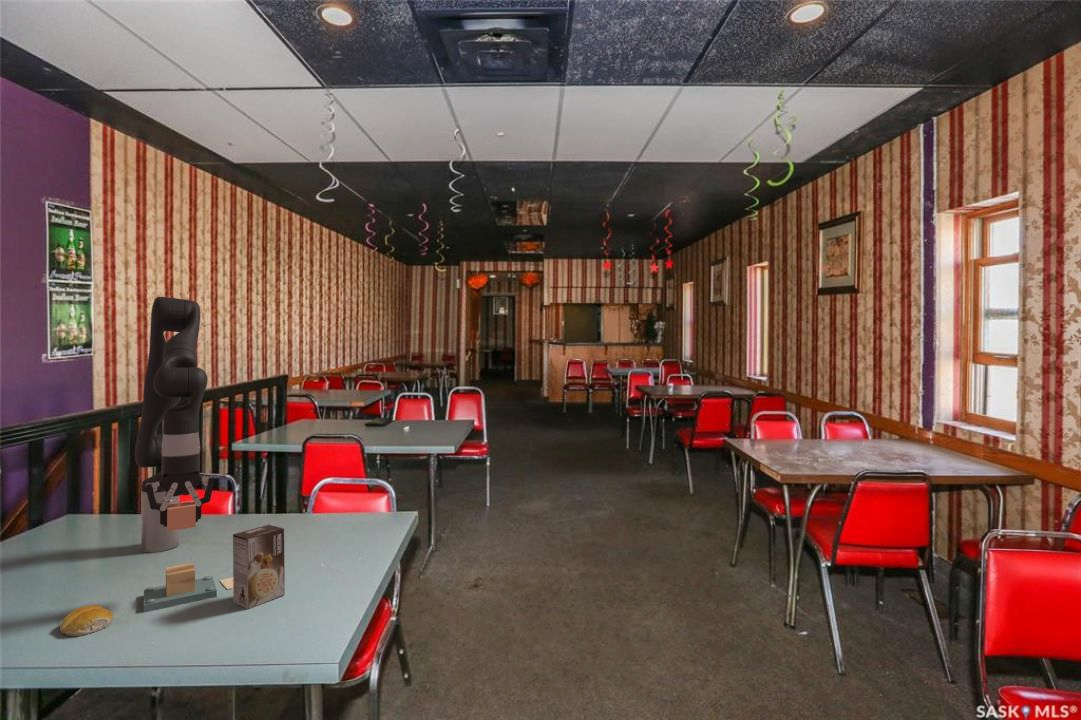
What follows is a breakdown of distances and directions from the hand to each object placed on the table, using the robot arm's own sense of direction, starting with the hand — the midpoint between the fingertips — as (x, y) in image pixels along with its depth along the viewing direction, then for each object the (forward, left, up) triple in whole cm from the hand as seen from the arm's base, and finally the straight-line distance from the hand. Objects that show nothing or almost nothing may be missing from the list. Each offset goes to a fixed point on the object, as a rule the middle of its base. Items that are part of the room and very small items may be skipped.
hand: (180, 523), depth 131 cm
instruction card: (-2, +14, -17) cm, 22 cm away
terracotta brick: (0, 0, -1) cm, 1 cm away
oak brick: (0, 0, -16) cm, 16 cm away
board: (0, 0, -17) cm, 17 cm away
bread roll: (+6, -17, -18) cm, 25 cm away
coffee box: (+12, +15, -17) cm, 26 cm away
